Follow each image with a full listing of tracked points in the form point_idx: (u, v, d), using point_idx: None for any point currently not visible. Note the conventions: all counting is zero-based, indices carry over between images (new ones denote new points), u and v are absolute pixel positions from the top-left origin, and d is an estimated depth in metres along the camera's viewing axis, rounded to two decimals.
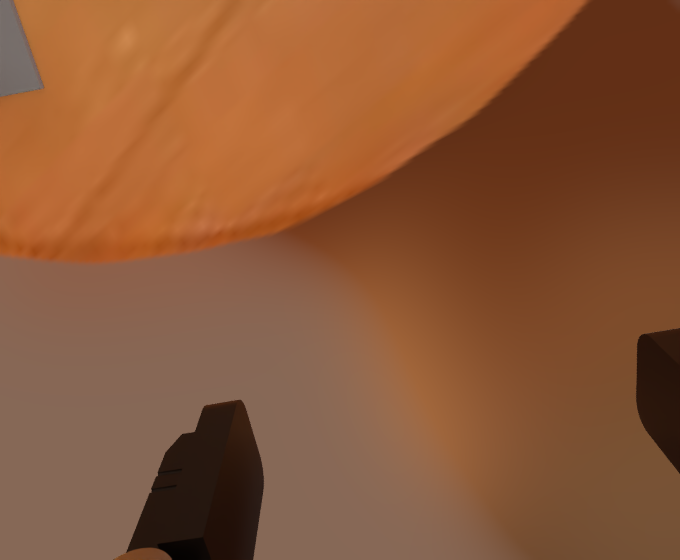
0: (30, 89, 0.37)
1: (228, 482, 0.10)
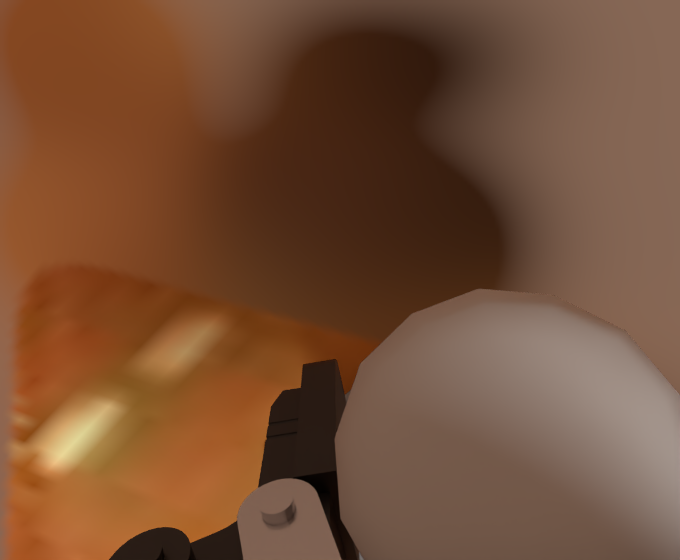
0: None
1: None
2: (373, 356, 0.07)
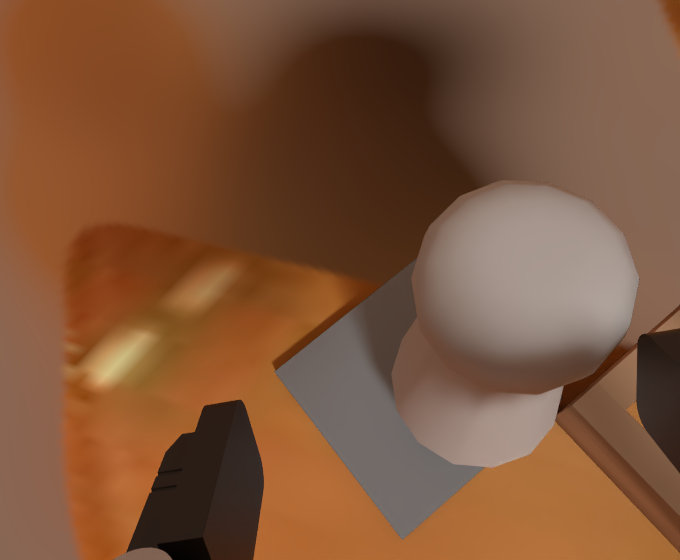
0: (392, 523, 0.21)
1: (228, 482, 0.10)
2: (437, 220, 0.12)
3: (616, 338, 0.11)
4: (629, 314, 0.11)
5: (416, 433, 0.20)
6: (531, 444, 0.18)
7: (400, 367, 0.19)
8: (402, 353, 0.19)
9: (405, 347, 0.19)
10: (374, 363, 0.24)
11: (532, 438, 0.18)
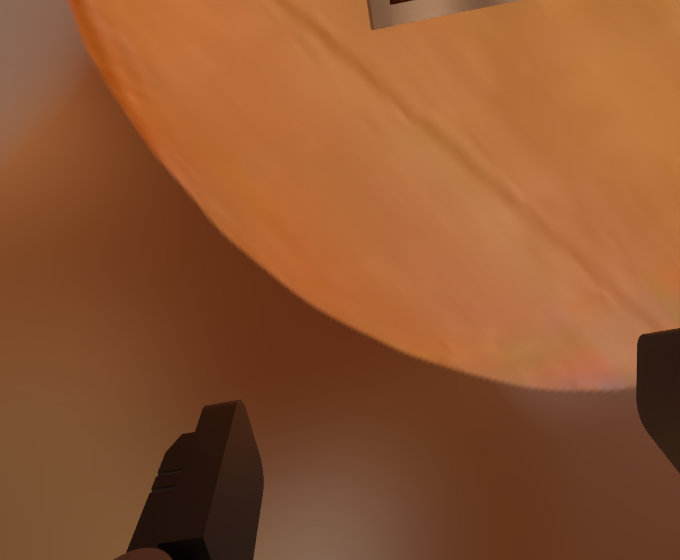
0: None
1: (228, 482, 0.10)
2: None
3: None
4: None
5: None
6: None
7: None
8: None
9: None
10: None
11: None
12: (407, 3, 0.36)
